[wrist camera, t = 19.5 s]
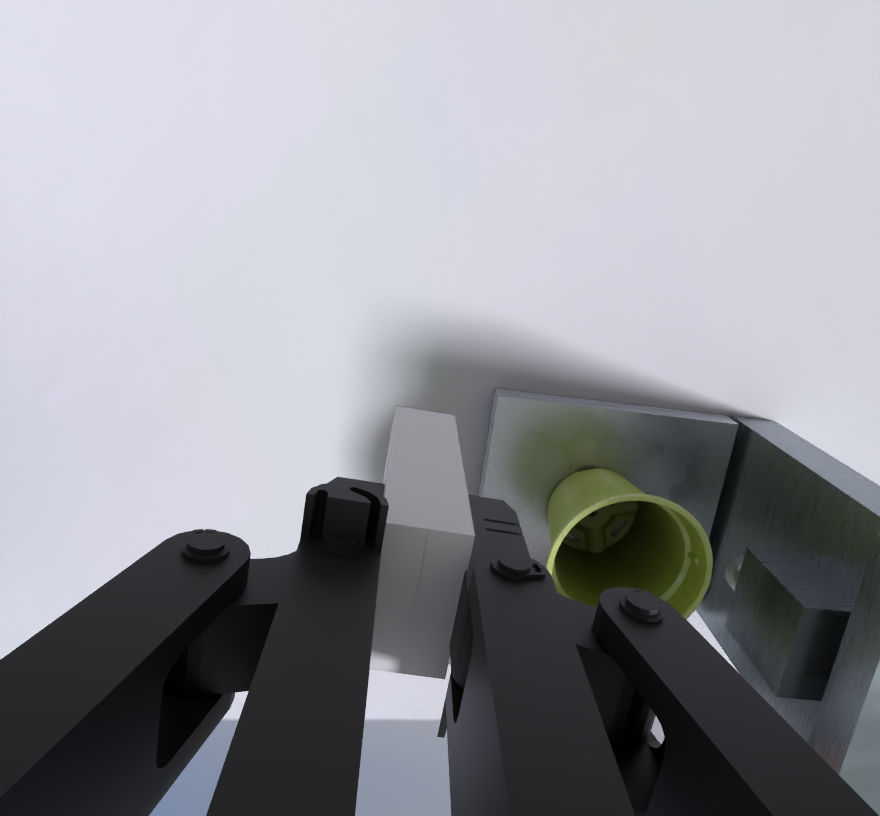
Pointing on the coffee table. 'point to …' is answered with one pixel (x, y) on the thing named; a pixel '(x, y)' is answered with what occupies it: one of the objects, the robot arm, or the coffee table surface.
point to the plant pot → (625, 542)
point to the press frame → (734, 546)
